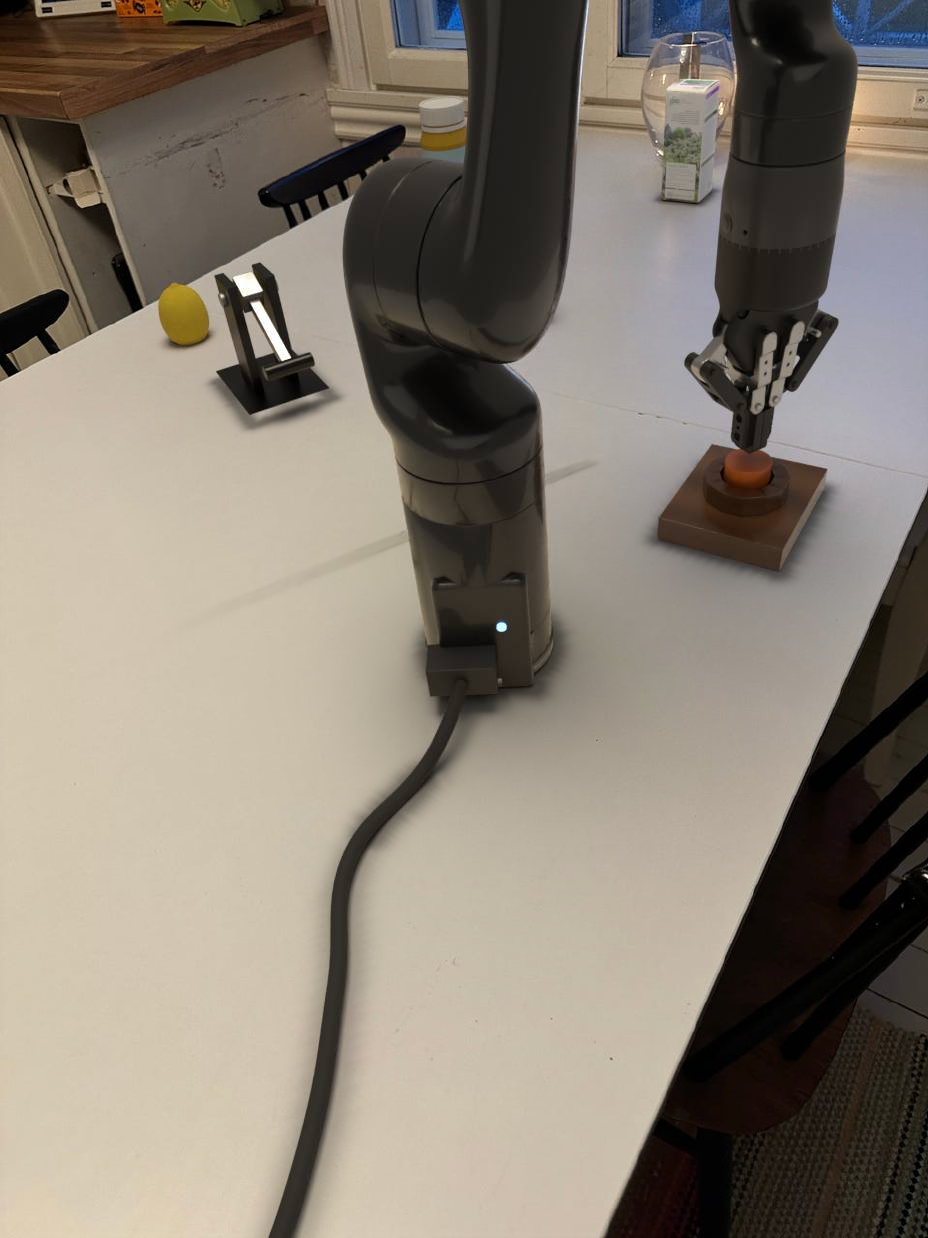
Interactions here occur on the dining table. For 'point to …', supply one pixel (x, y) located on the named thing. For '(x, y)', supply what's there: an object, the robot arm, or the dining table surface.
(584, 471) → the dining table surface
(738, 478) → the button
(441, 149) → the bottle
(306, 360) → the lever
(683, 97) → the syrup box
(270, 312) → the bracket
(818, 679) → the dining table surface
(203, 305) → the lemon
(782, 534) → the button box
